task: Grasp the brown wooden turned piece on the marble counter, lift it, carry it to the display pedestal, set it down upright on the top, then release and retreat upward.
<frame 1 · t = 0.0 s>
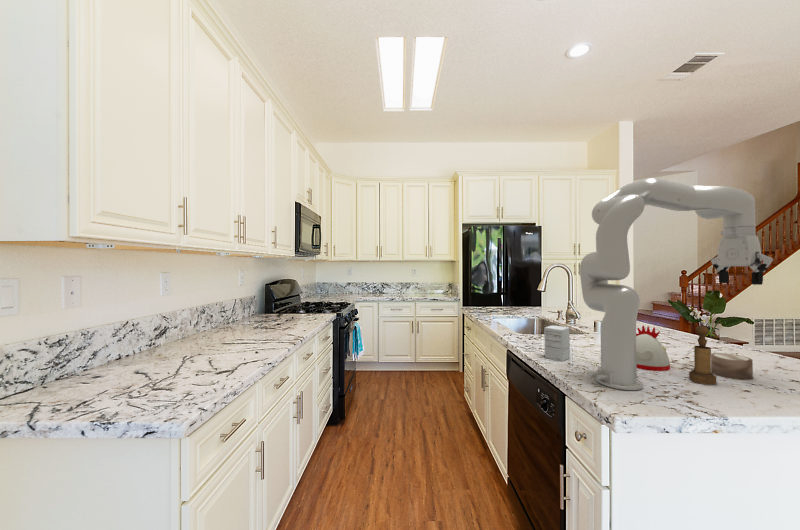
hand: (739, 283, 110), 31 cm above the worktop, tool pointing down, fingers open, 9 cm apart
brown wooden turned piece: (702, 382, 106), on the worktop
supplement box: (557, 358, 134), on the worktop
display pedestal: (731, 374, 112), on the worktop
kitchen timer: (646, 365, 123), on the worktop
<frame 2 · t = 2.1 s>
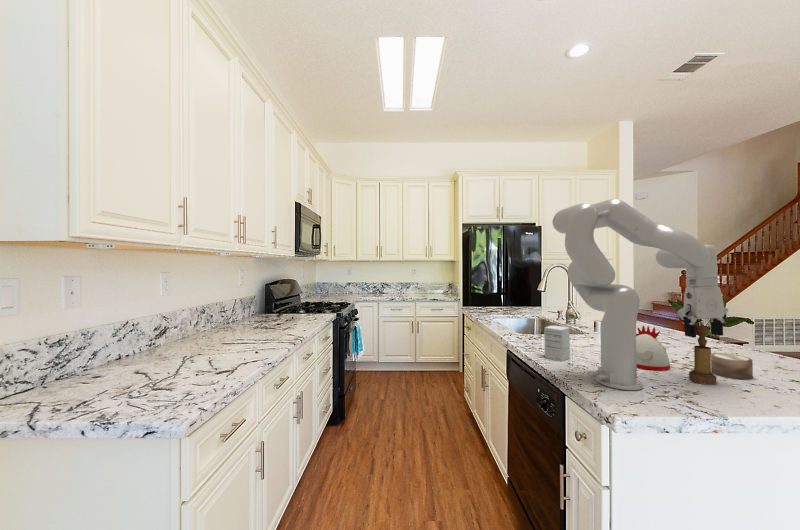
hand: (703, 335, 106), 15 cm above the worktop, tool pointing down, fingers open, 9 cm apart
nothing on the worktop moved.
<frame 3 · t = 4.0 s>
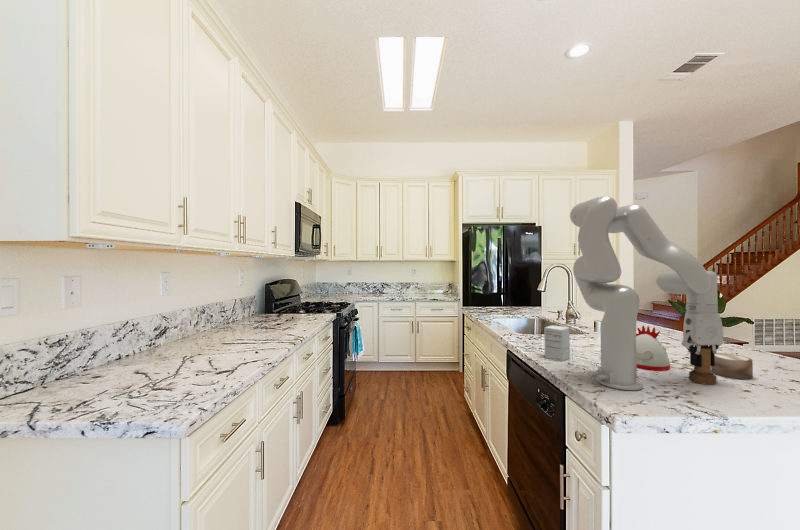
hand: (702, 364, 106), 5 cm above the worktop, tool pointing down, fingers closed on brown wooden turned piece, 3 cm apart
brown wooden turned piece: (702, 381, 106), on the worktop, touching gripper
everything else where it was.
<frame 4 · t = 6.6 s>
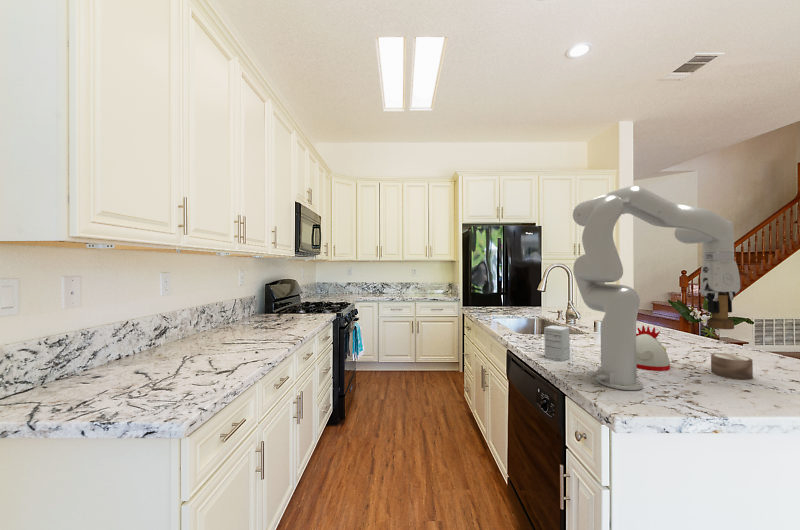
hand: (719, 311, 110), 22 cm above the worktop, tool pointing down, fingers closed on brown wooden turned piece, 3 cm apart
brown wooden turned piece: (720, 328, 110), point 16 cm above the worktop, touching gripper
everything else where it was.
when the fingers open (13 cm above the worktop, at t = 9.3 s): brown wooden turned piece drops 1 cm, resting on display pedestal.
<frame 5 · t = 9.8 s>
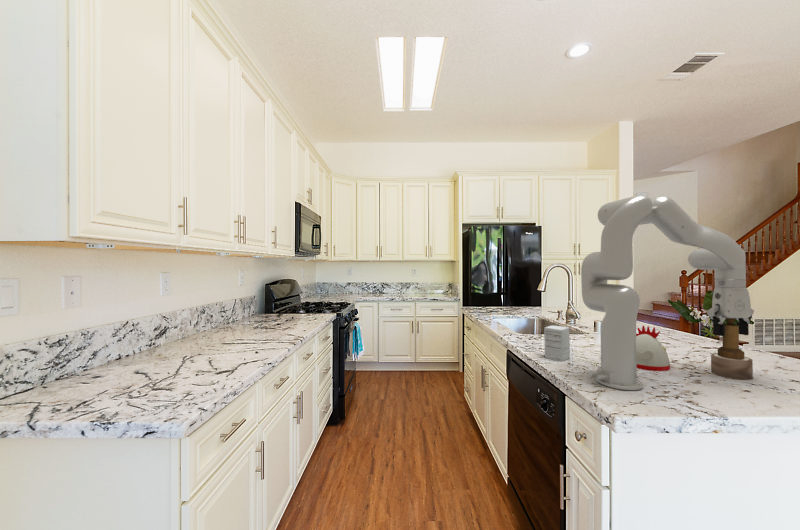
hand: (730, 334, 112), 14 cm above the worktop, tool pointing down, fingers open, 8 cm apart
brown wooden turned piece: (730, 357, 112), point 6 cm above the worktop, touching display pedestal
everything else where it was.
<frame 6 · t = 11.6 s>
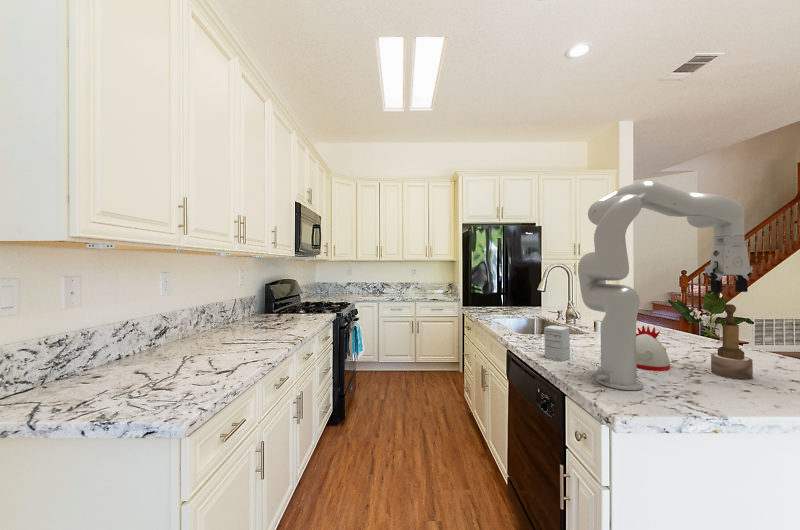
hand: (729, 291, 112), 28 cm above the worktop, tool pointing down, fingers open, 9 cm apart
nothing on the worktop moved.
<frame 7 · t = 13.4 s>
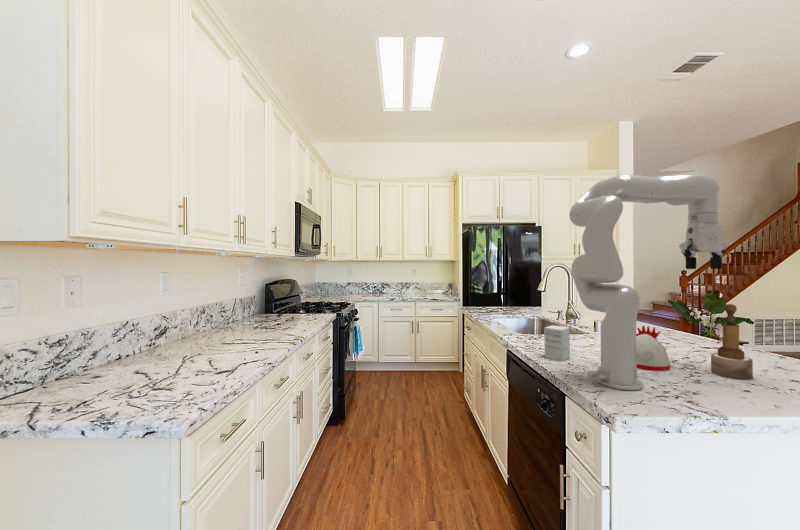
hand: (703, 268, 113), 36 cm above the worktop, tool pointing down, fingers open, 9 cm apart
nothing on the worktop moved.
at the end: brown wooden turned piece 0.2 cm off-centre on the display pedestal, point 5.9 cm above the display pedestal's base; brown wooden turned piece tilted 0°; the gripper is holding nothing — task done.
